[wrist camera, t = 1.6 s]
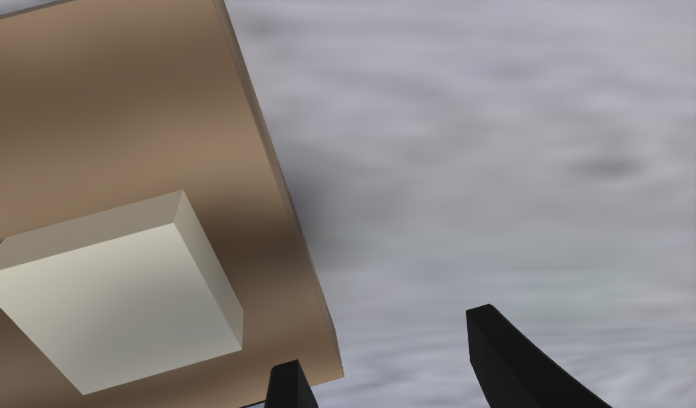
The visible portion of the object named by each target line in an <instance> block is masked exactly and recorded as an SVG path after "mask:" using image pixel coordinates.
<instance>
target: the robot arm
mask: <svg viewBox="0 0 696 408" xmlns="http://www.w3.org/2000/svg"><path fill="white" fill-rule="evenodd" d="M466 318H467V330H468V342H469V354H470V362H471V365H472V367H473V369H474V372H475V374H476V376H477V379H478V381H479V384H480V386H481V388H482V390H483V393H484V395H485V397H486V400H487V402H488V403H489V405H490V407H491V408H612V407H611V406H610V405H608V404H607V403H606V402H604V401H603V400H602V399H600V398H599V397H598V396H596V395H595V394H594V393H592V392H591V391H590V390H588V389H587V388H586V387H585V386H583V385H582V384H581V383H580V382H578V381H577V380H576V379H574V378H573V377H572V376H571V375H570V374H568V373H567V372H566V371H565V370H564V369H562V368H561V367H560V366H559V365H558V364H556V363H555V362H554V361H553V360H552V359H550V358H549V357H548V356H547V355H546V354H544V353H543V352H542V351H541V350H540V349H539V348H538V347H536V346H535V345H534V344H533V343H532V342H531V341H530V340H529V339H528V338H526V337H525V336H524V335H523V334H522V333H521V332H520V331H519V330H518V329H517V328H516V327H514V326H513V325H512V324H511V323H510V322H509V321H508V320H507V319H506V318H505V317H504V316H503V315H502V314H501V313H500V312H499V311H498V310H497V309H496V308H495V307H494V306H493V305H491V304H487V305H483V306H480V307H476V308H473V309H469V310H466ZM247 408H318V404H317V402H316V400H315V397H314V395H313V393H312V390H311V388H310V386H309V384H308V381H307V379H306V377H305V374H304V372H303V370H302V367H301V365H300V363H299V361H298V359H296V360H293V361H289V362H286V363H282V364H279V365H275V366H274V367H273V368H272V369H271V372H270V379H269V384H268V389H267V395H266V399H265V402H264V403H260V404H257V405H253V406H250V407H247Z"/></svg>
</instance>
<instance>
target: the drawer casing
mask: <svg viewBox="0 0 696 408" xmlns="http://www.w3.org/2000/svg"><path fill="white" fill-rule="evenodd" d="M179 190H184V192H185V194H186V196H187V198H188V200H189V202H190V204H191V206H192V208H193V210H194V212H195V214H196V216H197V218H198V220H199V222H200V224H201V226H202V228H203V230H204V232H205V234H206V236H207V238H208V240H209V242H210V244H211V246H212V248H213V250H214V252H215V254H216V256H217V258H218V260H219V262H220V264H221V266H222V269H223V271H224V273H225V275H226V277H227V279H228V281H229V283H230V285H231V287H232V289H233V291H234V293H235V295H236V297H237V299H238V301H239V303H240V305H241V307H242V309H243V338H242V350H239V351H236V352H232V353H229V354H225V355H222V356H218V357H215V358H211V359H208V360H204V361H201V362H197V363H194V364H191V365H187V366H184V367H180V368H177V369H173V370H170V371H166V372H163V373H159V374H156V375H152V376H149V377H145V378H142V379H138V380H135V381H131V382H128V383H124V384H121V385H117V386H114V387H110V388H107V389H103V390H100V391H96V392H93V393H89V394H86V395H82V393H81V392H80V391H79V390H78V389H77V388H76V387H75V386H74V385H73V384H72V383H71V382H70V381H69V380H68V379H67V378H66V377H65V375H64V374H63V373H62V372H61V371H60V370H59V369H58V368H57V367H56V366H55V365H54V364H53V363H52V362H51V361H50V360H49V359H48V357H47V356H46V355H45V354H44V353H43V352H42V351H41V350H40V349H39V348H38V347H37V346H36V345H35V344H34V343H33V342H32V341H31V339H30V338H29V337H28V336H27V335H26V334H25V333H24V332H23V331H22V330H21V329H20V328H19V327H18V326H17V325H16V324H15V323H14V321H13V320H12V319H11V318H10V317H9V316H8V315H7V314H6V313H5V312H4V311H3V310H2V309H1V308H0V408H239V407H243V406H246V405H250V404H253V403H257V402H260V401H263V400H265V399H266V395H267V389H268V384H269V379H270V372H271V369H272V368H273V367H274V366H275V365H279V364H282V363H286V362H289V361H293V360H296V359H298V361H299V363H300V365H301V367H302V370H303V372H304V374H305V377H306V379H307V381H308V384H309V386H310V387H311V386H315V385H318V384H322V383H325V382H329V381H332V380H336V379H339V378H342V377H344V372H343V367H342V362H341V357H340V352H339V347H338V342H337V337H336V331H335V328H334V325H333V322H332V319H331V316H330V313H329V310H328V307H327V304H326V301H325V298H324V295H323V292H322V289H321V287H320V284H319V281H318V278H317V275H316V272H315V269H314V266H313V263H312V260H311V257H310V254H309V251H308V248H307V245H306V242H305V239H304V236H303V233H302V230H301V227H300V224H299V221H298V219H297V216H296V213H295V210H294V207H293V204H292V201H291V198H290V195H289V192H288V189H287V186H286V183H285V180H284V177H283V174H282V171H281V168H280V165H279V162H278V159H277V156H276V153H275V151H274V148H273V145H272V142H271V139H270V136H269V133H268V130H267V127H266V124H265V121H264V118H263V115H262V112H261V109H260V106H259V103H258V100H257V97H256V94H255V91H254V88H253V85H252V83H251V80H250V77H249V74H248V71H247V68H246V65H245V62H244V59H243V56H242V53H241V50H240V47H239V44H238V41H237V38H236V35H235V32H234V29H233V26H232V23H231V20H230V17H229V15H228V12H227V9H226V6H225V3H224V0H60V1H56V2H52V3H48V4H44V5H40V6H36V7H32V8H28V9H24V10H21V11H17V12H13V13H9V14H5V15H1V16H0V244H1V243H2V241H3V240H4V239H5V238H6V237H10V236H14V235H17V234H21V233H25V232H28V231H32V230H36V229H39V228H43V227H47V226H50V225H54V224H58V223H62V222H65V221H69V220H73V219H76V218H80V217H84V216H87V215H91V214H95V213H98V212H102V211H106V210H109V209H113V208H117V207H120V206H124V205H128V204H131V203H135V202H139V201H142V200H146V199H150V198H153V197H157V196H161V195H164V194H168V193H172V192H176V191H179Z"/></svg>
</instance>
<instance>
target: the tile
mask: <svg viewBox="0 0 696 408" xmlns="http://www.w3.org/2000/svg"><path fill="white" fill-rule="evenodd" d="M0 308H1V309H2V310H3V311H4V312H5V313H6V314H7V315H8V316H9V317H10V318H11V319H12V320H13V321H14V323H15V324H16V325H17V326H18V327H19V328H20V329H21V330H22V331H23V332H24V333H25V334H26V335H27V336H28V337H29V338H30V339H31V341H32V342H33V343H34V344H35V345H36V346H37V347H38V348H39V349H40V350H41V351H42V352H43V353H44V354H45V355H46V356H47V357H48V359H49V360H50V361H51V362H52V363H53V364H54V365H55V366H56V367H57V368H58V369H59V370H60V371H61V372H62V373H63V374H64V375H65V377H66V378H67V379H68V380H69V381H70V382H71V383H72V384H73V385H74V386H75V387H76V388H77V389H78V390H79V391H80V392H81V393H82V395H86V394H89V393H93V392H96V391H100V390H103V389H107V388H110V387H114V386H117V385H121V384H124V383H128V382H131V381H135V380H138V379H142V378H145V377H149V376H152V375H156V374H159V373H163V372H166V371H170V370H173V369H177V368H180V367H184V366H187V365H191V364H194V363H197V362H201V361H204V360H208V359H211V358H215V357H218V356H222V355H225V354H229V353H232V352H236V351H239V350H242V338H243V309H242V307H241V305H240V303H239V301H238V299H237V297H236V295H235V293H234V291H233V289H232V287H231V285H230V283H229V281H228V279H227V277H226V275H225V273H224V271H223V269H222V266H221V264H220V262H219V260H218V258H217V256H216V254H215V252H214V250H213V248H212V246H211V244H210V242H209V240H208V238H207V236H206V234H205V232H204V230H203V228H202V226H201V224H200V222H199V220H198V218H197V216H196V214H195V212H194V210H193V208H192V206H191V204H190V202H189V200H188V198H187V196H186V194H185V192H184V190H179V191H176V192H172V193H168V194H164V195H161V196H157V197H153V198H150V199H146V200H142V201H139V202H135V203H131V204H128V205H124V206H120V207H117V208H113V209H109V210H106V211H102V212H98V213H95V214H91V215H87V216H84V217H80V218H76V219H73V220H69V221H65V222H62V223H58V224H54V225H50V226H47V227H43V228H39V229H36V230H32V231H28V232H25V233H21V234H17V235H14V236H10V237H6V238H5V239H4V240H3V241H2V243H1V244H0Z"/></svg>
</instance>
